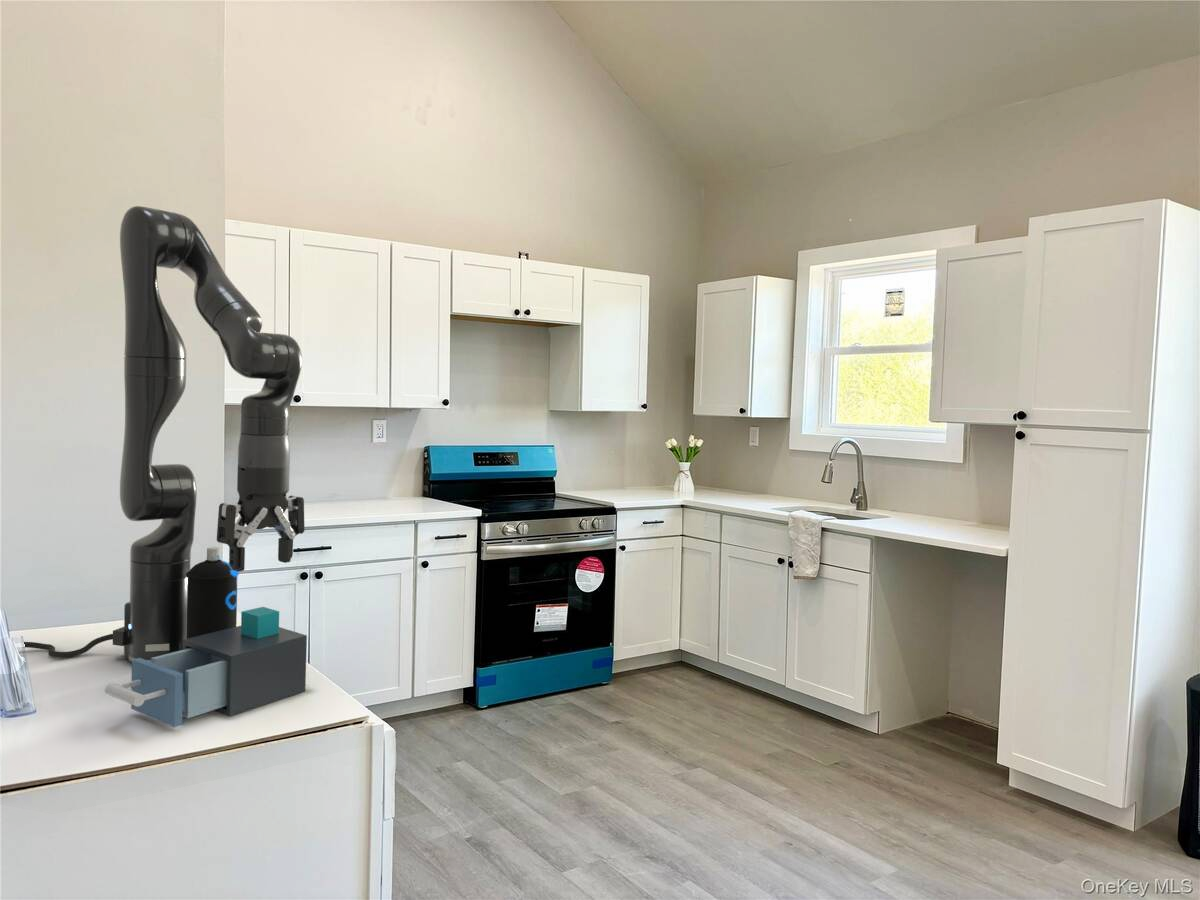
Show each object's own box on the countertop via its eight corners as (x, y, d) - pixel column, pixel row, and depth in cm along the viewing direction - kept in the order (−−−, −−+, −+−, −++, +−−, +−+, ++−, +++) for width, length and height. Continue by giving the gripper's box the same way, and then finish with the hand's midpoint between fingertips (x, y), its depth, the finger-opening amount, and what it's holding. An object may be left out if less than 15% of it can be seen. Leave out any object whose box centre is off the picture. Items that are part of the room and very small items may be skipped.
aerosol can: (185, 674, 146) (187, 554, 144) (183, 659, 153) (185, 544, 151) (239, 669, 149) (242, 552, 148) (235, 654, 157) (237, 542, 155)
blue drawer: (140, 738, 119) (141, 685, 118) (97, 718, 125) (97, 668, 124) (251, 701, 134) (253, 654, 133) (209, 685, 139) (209, 639, 139)
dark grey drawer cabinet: (229, 716, 130) (231, 656, 129) (182, 697, 136) (182, 639, 135) (305, 691, 142) (306, 635, 141) (258, 674, 148) (259, 620, 147)
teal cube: (257, 639, 137) (257, 616, 137) (240, 634, 139) (241, 611, 139) (278, 633, 141) (279, 611, 140) (262, 628, 143) (263, 606, 143)
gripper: (285, 458, 146) (283, 555, 147) (207, 463, 134) (205, 569, 135) (317, 462, 142) (314, 563, 143) (239, 468, 130) (236, 577, 131)
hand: (261, 566), depth 139 cm, fingers open, 8 cm apart
